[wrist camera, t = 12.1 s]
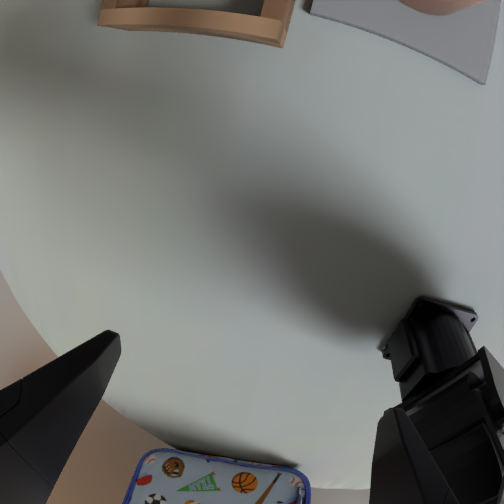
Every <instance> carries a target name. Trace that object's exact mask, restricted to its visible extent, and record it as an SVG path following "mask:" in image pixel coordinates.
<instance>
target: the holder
mask: <svg viewBox="0 0 504 504" xmlns="http://www.w3.org/2000/svg"><path fill="white" fill-rule="evenodd" d="M148 1H149V0H103V2H102V6H101V10H100V15H99V19H98V24H97V25H98V26H104V27H111V28H117V29H123V30H128V31H163V32H179V33H191V34H201V35H209V36H217V37H225V38H231V39H238V40H244V41H250V42H255V43H260V44H266V45H270V46H275V47H280V48H283V46H284V42H285V38H286V34H287V30H288V27H289V23H290V19H291V15H292V11H293V8H294V4H295V0H264V3H263V7H262V11H261V15H260V17H259V16H253V15H246V14H239V13H232V12H223V11H214V10H203V9H188V8H161V7H147V5H148Z"/></svg>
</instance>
